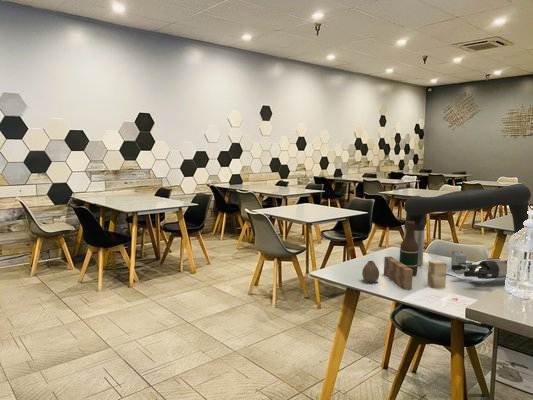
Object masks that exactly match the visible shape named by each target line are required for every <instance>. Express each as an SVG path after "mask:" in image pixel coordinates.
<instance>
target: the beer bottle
mask: <svg viewBox="0 0 533 400" xmlns="http://www.w3.org/2000/svg"><path fill="white" fill-rule="evenodd" d="M406 224H407V227H406V235H405V239H404V238H403V240H402V241H401V244H400V247H399V260H398V261H399V262H401V263H402V264H404V265H406V266H407V267H409V268H411V269H412V270H413V275H412V277H414V276H417V274H418V244H417V242H416V241H415V236H414V225H415V222H414V221H407V222H406Z"/></svg>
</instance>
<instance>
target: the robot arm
mask: <svg viewBox="0 0 533 400" xmlns="http://www.w3.org/2000/svg"><path fill="white" fill-rule="evenodd" d="M531 196H532V193H531V190H530V189H529V187H527V186H526V185H525V184H522V183H515V184H511V185H506V186H503V187H498V188H490V189H489V188H485V189H483V188H482V189H481V188H480V189H479V188H478V189H466V190H457V191H451V192H446V193H444V194H440V195H436V196H430V197H429V196H426V197H425V196H424V197H422V196H421V195H413V196H410V197H409V198H407V200H406V201H405V202H404V207H403V208H404V211H405V215H406V216H405V222H404V226H403V227H404V230H403V240H404V239H405V235H406V227H407V224H406V222H407V221H414V222H415V225H414V236H415V241H416V242H417V244H418V266H422V265H423V262H424V245H425V243H424V242H425V228H426V227H425V226H426V223H427V222H426V221H427V215H428V214H433V213H451V212H452V213H454V212H466V211H474V210H480V209H485V208H489V207H493V206H508V207H509V209H510V212H511V216H512V223H513V234H515V233H516V232H518V231H519V230H521V229H522V228H524V225H523V222H524V221H525V220H527V219H528V214H527V211H529V201H530V199H531ZM507 261H508V260H500V259H499V260H498V259H497V260H496V259H495V260H493V259H491V260H481V261H480V263H478V264H476V263H474V264H473V262H466V263H459V264H458V265H452V269H451V270H452V271H453V270H463V271H464V274H463V276H464V277H465V278H467V277H470V278H471V277H473V278H477V279H480V280H481V279H482V280H483V279H485V280H489V279H493V280H494V279H496V280H497V279H505V278H507V277H506V274H507Z"/></svg>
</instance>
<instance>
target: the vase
mask: <svg viewBox="0 0 533 400" xmlns="http://www.w3.org/2000/svg"><path fill="white" fill-rule="evenodd" d="M361 271H362V272H361V274H362V279H363V280H364V281H365V282H366V283H369V284H374V283H376V282H377V281H378V280H379V275H380V270H379V268H378V266H377V265H376V263H375V261H374V260H368V261H367V263H366V264H365V265H364V267H363V269H362V270H361Z"/></svg>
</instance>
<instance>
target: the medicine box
mask: <svg viewBox="0 0 533 400" xmlns="http://www.w3.org/2000/svg"><path fill="white" fill-rule="evenodd" d="M451 251H452V252H451V262H450V268H451V270H452V265H458V264H459V263H467V255H466V254H465V253H464V252H463V251H462V250H461V251H460V250H451ZM452 271H453V272H454V273H455V274H460V273H464V271H463V270H452Z"/></svg>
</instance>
